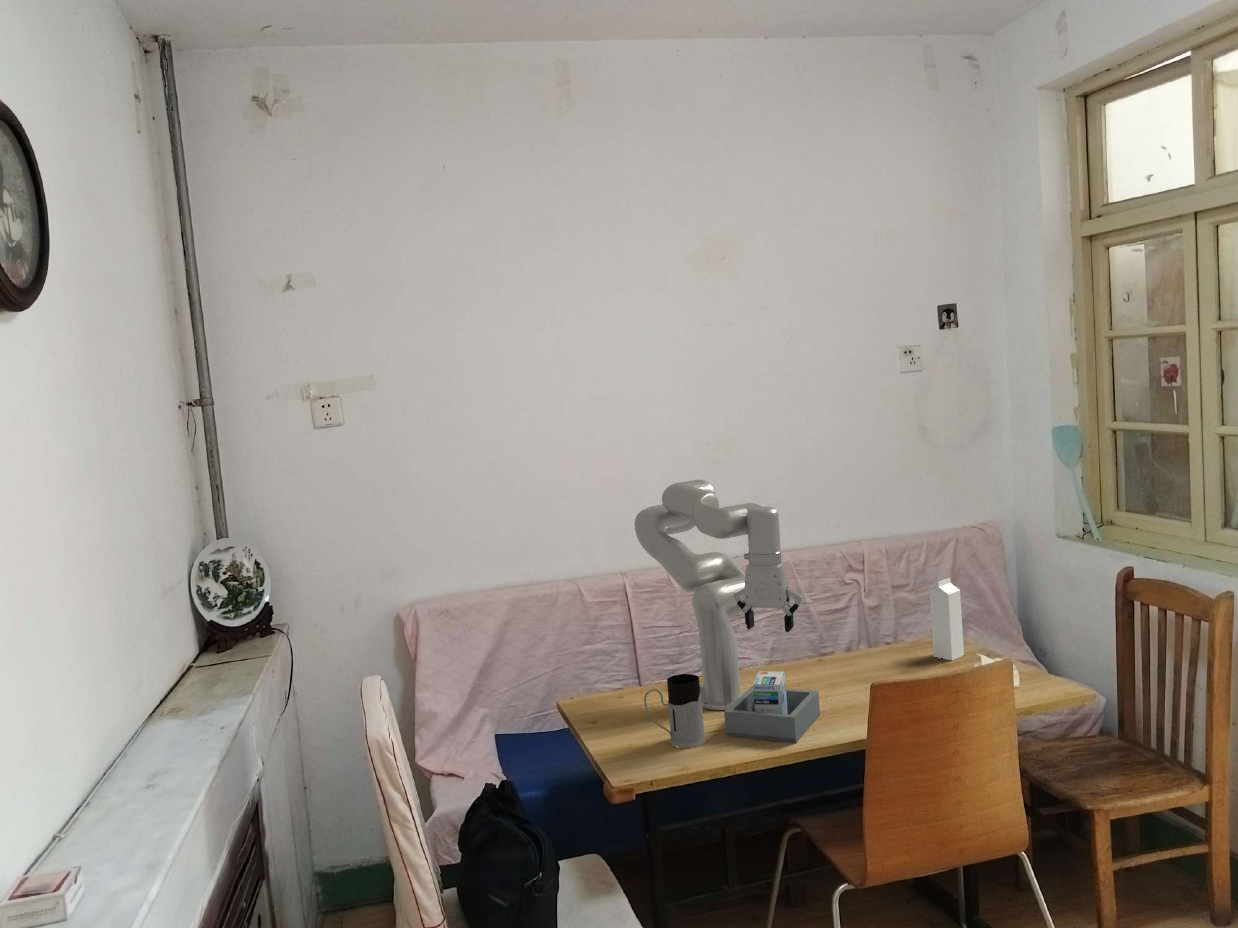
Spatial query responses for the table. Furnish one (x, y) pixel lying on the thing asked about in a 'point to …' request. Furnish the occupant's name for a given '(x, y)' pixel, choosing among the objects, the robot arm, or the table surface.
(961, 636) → the milk
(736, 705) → the box
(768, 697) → the light bulb box
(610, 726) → the table surface
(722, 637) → the robot arm
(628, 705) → the table surface
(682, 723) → the glass holder
